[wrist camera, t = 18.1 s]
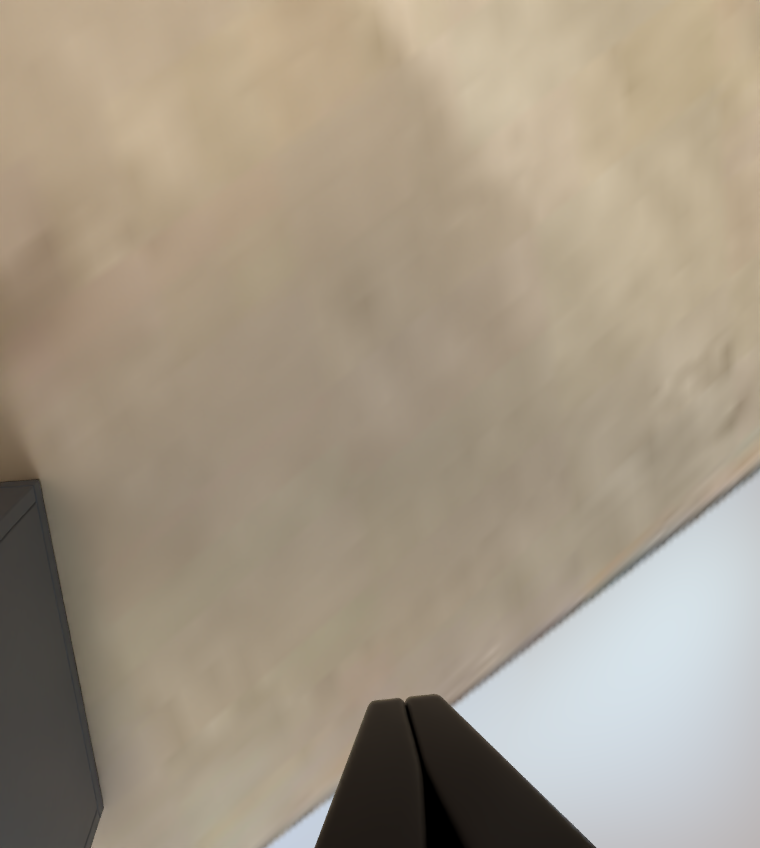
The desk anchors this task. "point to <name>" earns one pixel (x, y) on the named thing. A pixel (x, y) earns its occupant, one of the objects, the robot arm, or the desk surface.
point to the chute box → (39, 691)
